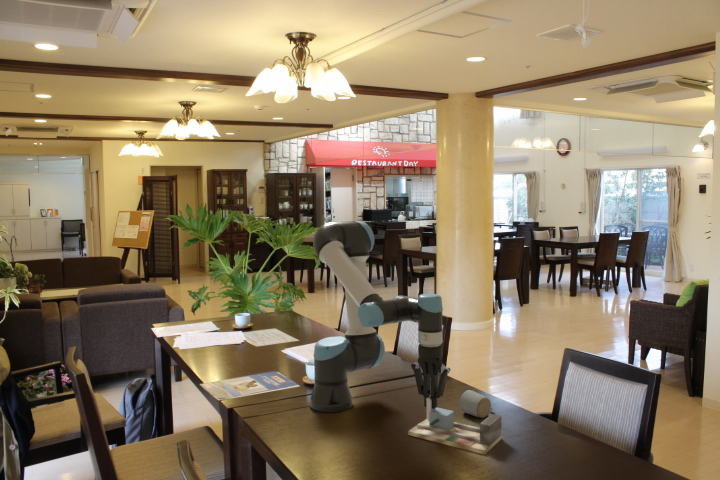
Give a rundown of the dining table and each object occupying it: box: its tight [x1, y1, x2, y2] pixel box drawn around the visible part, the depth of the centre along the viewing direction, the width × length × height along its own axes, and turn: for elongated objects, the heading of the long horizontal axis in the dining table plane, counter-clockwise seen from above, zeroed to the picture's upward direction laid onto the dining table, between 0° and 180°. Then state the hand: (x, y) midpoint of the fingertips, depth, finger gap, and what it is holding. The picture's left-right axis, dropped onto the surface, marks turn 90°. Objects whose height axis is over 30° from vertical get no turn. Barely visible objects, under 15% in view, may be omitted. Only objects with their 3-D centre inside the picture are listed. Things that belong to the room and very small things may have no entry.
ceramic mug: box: [459, 389, 493, 419], centre depth 194 cm, size 11×8×8 cm
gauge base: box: [407, 413, 503, 455], centre depth 176 cm, size 25×13×7 cm, turn 55°
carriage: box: [429, 407, 455, 430], centre depth 178 cm, size 6×9×5 cm, turn 145°
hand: (430, 417), depth 182 cm, fingers closed
